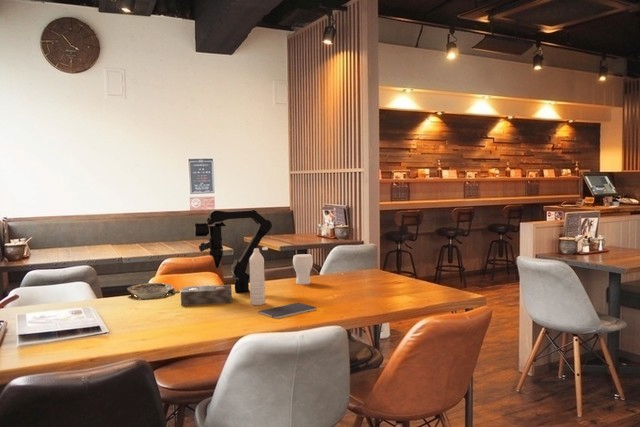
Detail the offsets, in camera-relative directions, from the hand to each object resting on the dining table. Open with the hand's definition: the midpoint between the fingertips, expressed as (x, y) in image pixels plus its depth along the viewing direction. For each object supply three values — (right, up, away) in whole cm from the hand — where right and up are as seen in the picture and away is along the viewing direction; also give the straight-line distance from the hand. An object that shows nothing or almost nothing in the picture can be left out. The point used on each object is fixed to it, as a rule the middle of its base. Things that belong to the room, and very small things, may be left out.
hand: (217, 267), depth 260 cm
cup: (+41, -11, +23) cm, 49 cm away
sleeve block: (-2, -14, -15) cm, 20 cm away
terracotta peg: (+4, -14, -14) cm, 20 cm away
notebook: (+37, -15, -37) cm, 54 cm away
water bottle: (+23, -14, -21) cm, 35 cm away
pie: (-34, -14, +4) cm, 37 cm away
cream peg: (-8, -14, -16) cm, 22 cm away
